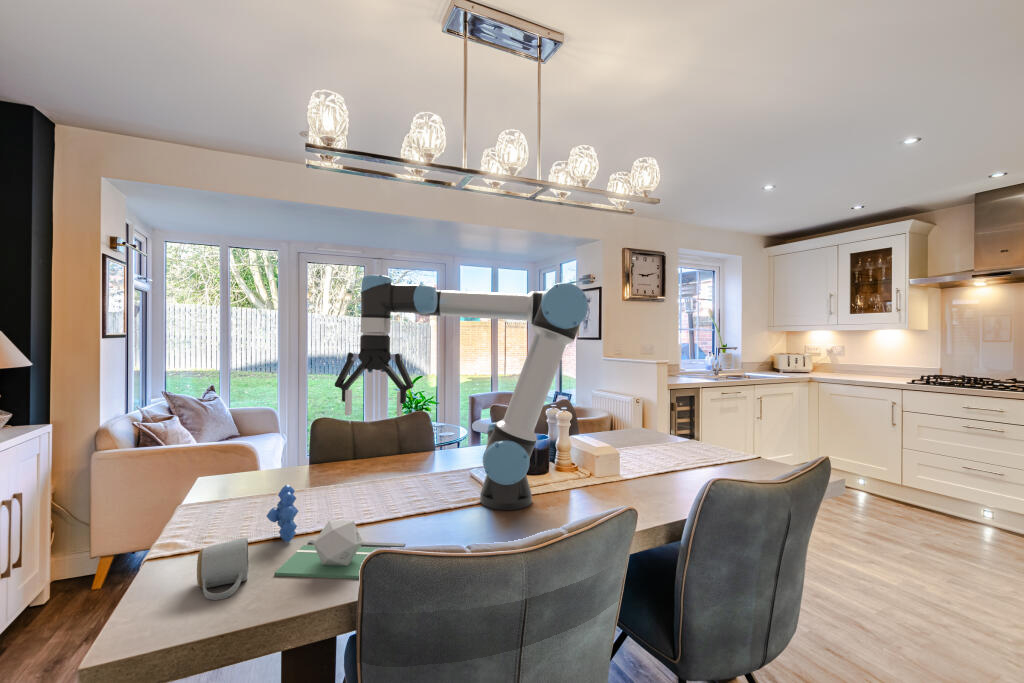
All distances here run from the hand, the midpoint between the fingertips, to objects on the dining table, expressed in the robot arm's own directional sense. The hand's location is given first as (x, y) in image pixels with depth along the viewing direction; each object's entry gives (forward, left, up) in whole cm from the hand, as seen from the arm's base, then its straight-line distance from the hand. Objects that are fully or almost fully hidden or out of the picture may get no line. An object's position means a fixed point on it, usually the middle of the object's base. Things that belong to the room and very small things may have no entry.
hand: (373, 415), depth 121 cm
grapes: (+16, +15, -27) cm, 35 cm away
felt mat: (-2, +25, -27) cm, 37 cm away
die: (-2, +26, -26) cm, 37 cm away
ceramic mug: (+16, +35, -27) cm, 47 cm away
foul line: (-2, +17, -27) cm, 31 cm away
